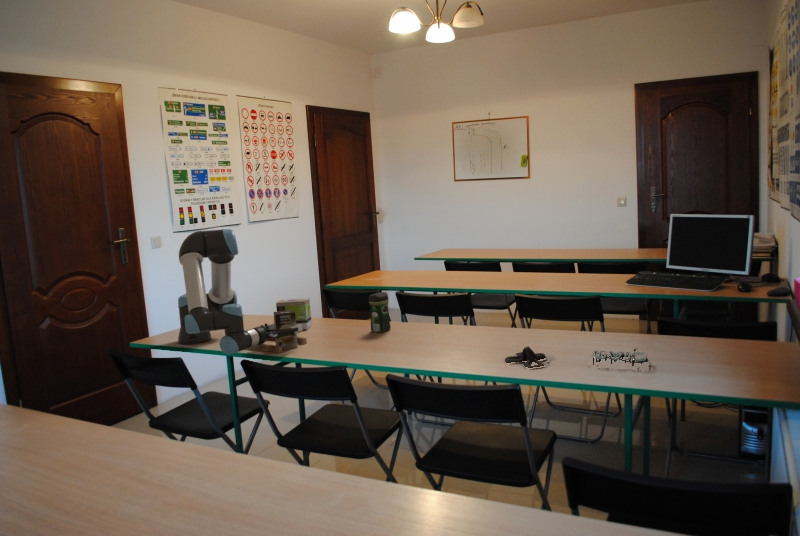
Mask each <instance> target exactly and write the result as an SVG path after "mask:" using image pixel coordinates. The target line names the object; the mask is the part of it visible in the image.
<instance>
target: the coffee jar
mask: <svg viewBox="0 0 800 536" xmlns="http://www.w3.org/2000/svg"><path fill="white" fill-rule="evenodd" d="M368 304H369V307H370V331H371V332H373V333H377V334H378V333H384V332H387V331H389V330H391V320H390V315H389V314H390V312H389V295H388V293H387V292H385V291H380V292H376V293H373V294H369V296H368Z"/></svg>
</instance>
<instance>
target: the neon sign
mask: <svg viewBox="0 0 800 536" xmlns="http://www.w3.org/2000/svg"><path fill="white" fill-rule="evenodd" d="M631 354H632V356H631ZM604 355H605V356H604ZM607 355H610V356H609V357H610V358H609V357H608V356H607ZM639 355H640V359H637V358H638V357H637V356H639ZM643 355H644V357H643ZM628 356H629V358H628V359H626V357H628ZM591 357H593V365H594V358H596V362H600V361H601V359H605V361H606V360H607V358H609V359H611V364H612V360H614V362H616V361H617V360H618V359H619V360H622V359H623V357H625V360H622V361H625V363H626V362H630V363H632V366H634V363H641V364H642V363H644V362H648V361H650V360H649V359H648V354H647V353H646V352H642V351H641V352H640V351H638V352H637V351H636V352H634V353H633V352H631V351H625V352H624V351H618V352H614V350H613V351H612V350H609V351H608V353H607V351H605V350H600V351H599V350H594V351H593V352H592V356H591ZM602 357H603V358H602ZM612 357H614V358H612ZM616 357H618V358H616ZM621 357H622V359H620V358H621ZM615 358H616V359H615ZM597 359H599V360H597ZM631 359H632V362H631ZM626 360H629V361H626ZM635 361H636V362H635Z"/></svg>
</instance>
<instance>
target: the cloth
mask: <svg viewBox="0 0 800 536" xmlns="http://www.w3.org/2000/svg"><path fill="white" fill-rule="evenodd" d="M515 354H516V355H517V356H515V355H512V356H511V355H510V356H506V357H505V359H504V363H505V362H506V363H511V362H522V361H527V362H526V363H523V365H524V366H525V367H528V368H533V367H540V366H544V365H546V363H544V362H540V361H538V360H540V359H544V358H546V354H545V353H544V352H543V353H542V352H538V353H537V352H536V353H535V351H534V350H533V349H532V348H531V347H530V346H526V347H524V348H523V349H522V351H521V352H517V353H515ZM546 359H547V358H546ZM532 362H535V363H537V364H538V365H534V366H531V364H532ZM524 366H523V367H524Z"/></svg>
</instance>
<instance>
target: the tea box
mask: <svg viewBox="0 0 800 536" xmlns="http://www.w3.org/2000/svg"><path fill="white" fill-rule="evenodd" d="M275 306H276V312H278V311H289V310H293V311H295V315H296V325H300V324H302V331H303V330H304V331H306V330H308V329H310V328H311V327H312V324H313V323H312V312H311V301H310V298H309V297H305V298H287V299H284V298H283V299H280V300H279V301H277V302H276V303H275ZM309 327H310V328H309Z"/></svg>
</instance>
